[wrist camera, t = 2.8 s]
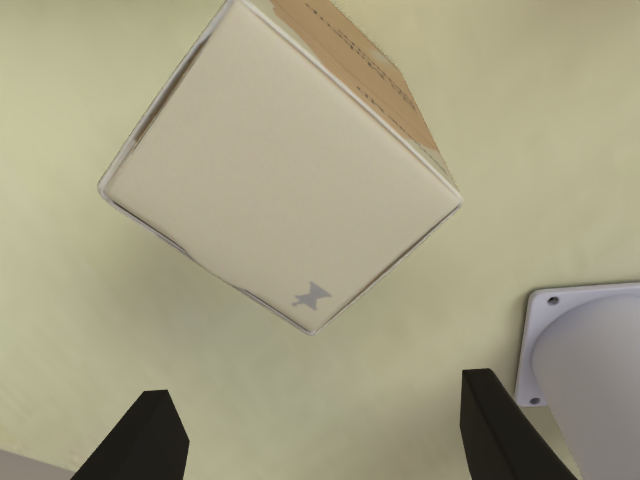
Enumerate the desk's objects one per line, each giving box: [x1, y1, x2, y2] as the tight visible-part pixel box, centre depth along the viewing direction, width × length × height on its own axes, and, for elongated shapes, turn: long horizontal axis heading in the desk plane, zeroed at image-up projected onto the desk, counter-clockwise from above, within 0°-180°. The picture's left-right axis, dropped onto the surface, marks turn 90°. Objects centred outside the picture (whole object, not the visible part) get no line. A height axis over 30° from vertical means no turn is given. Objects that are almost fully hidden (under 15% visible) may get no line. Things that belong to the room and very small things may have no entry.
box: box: [98, 0, 463, 336], centre depth 13 cm, size 5×4×11 cm
